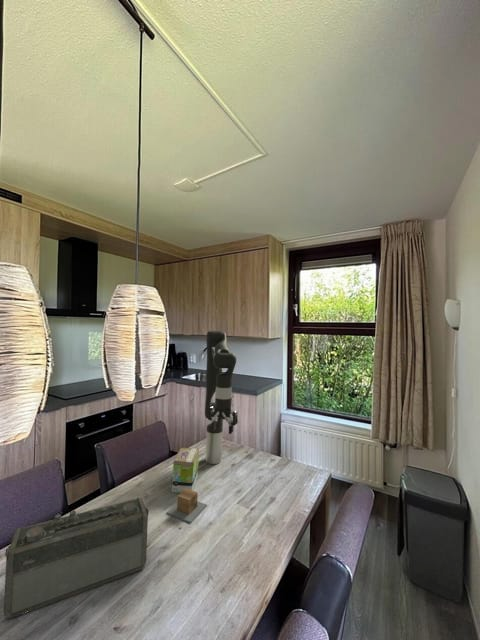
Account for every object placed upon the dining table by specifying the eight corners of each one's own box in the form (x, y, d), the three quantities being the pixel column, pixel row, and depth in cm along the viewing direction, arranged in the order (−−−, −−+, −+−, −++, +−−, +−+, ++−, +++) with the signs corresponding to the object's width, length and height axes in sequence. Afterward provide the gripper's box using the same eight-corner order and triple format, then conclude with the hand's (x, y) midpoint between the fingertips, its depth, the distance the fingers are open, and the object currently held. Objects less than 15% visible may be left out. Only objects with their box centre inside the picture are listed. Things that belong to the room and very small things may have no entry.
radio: (-3, 627, 72) (1, 548, 72) (10, 580, 84) (14, 514, 84) (149, 569, 90) (152, 506, 90) (141, 538, 102) (144, 483, 102)
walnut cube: (185, 502, 123) (186, 488, 123) (197, 506, 120) (197, 492, 120) (177, 510, 117) (177, 495, 117) (188, 514, 115) (189, 500, 115)
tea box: (192, 494, 130) (193, 462, 130) (171, 492, 130) (172, 461, 130) (198, 476, 145) (199, 447, 145) (178, 475, 145) (180, 446, 145)
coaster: (184, 497, 127) (184, 496, 127) (206, 505, 121) (206, 504, 121) (166, 513, 116) (166, 512, 116) (190, 523, 111) (190, 521, 111)
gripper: (240, 396, 129) (239, 432, 128) (214, 392, 135) (213, 426, 135) (233, 400, 122) (232, 437, 122) (205, 395, 128) (204, 431, 128)
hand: (222, 431), depth 128 cm, fingers open, 8 cm apart
